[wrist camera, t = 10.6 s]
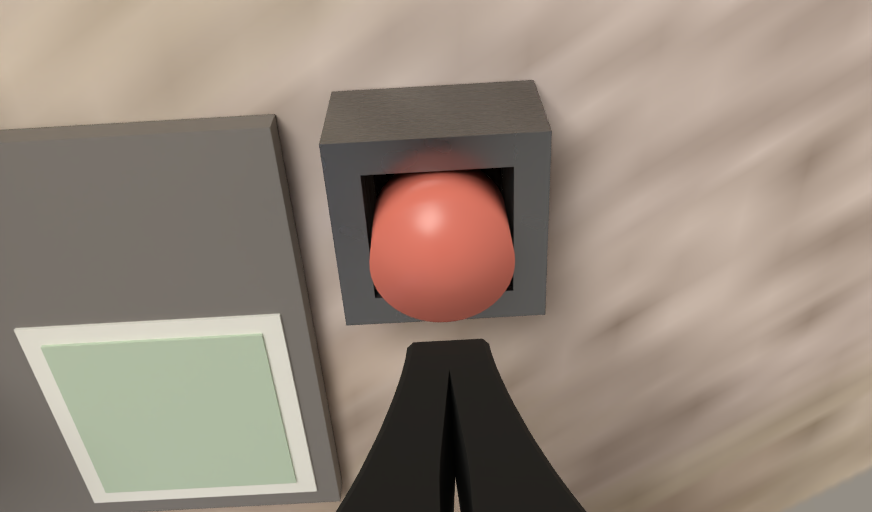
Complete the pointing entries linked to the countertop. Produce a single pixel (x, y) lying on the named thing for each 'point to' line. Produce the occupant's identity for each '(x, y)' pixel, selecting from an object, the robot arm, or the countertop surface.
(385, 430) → the robot arm
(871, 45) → the countertop surface
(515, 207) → the button base
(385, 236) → the button
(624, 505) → the countertop surface
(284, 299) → the grey rectangular board
